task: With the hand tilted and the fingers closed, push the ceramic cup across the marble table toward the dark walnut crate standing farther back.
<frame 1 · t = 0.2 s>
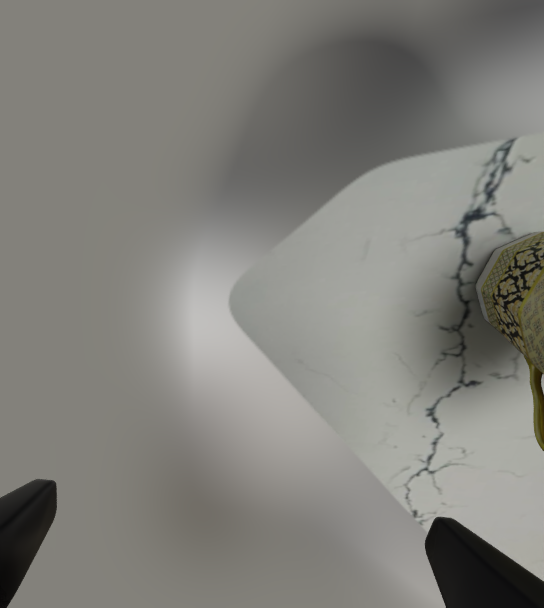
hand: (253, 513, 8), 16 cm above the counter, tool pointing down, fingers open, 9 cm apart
ceramic cup: (508, 300, 25), on the counter
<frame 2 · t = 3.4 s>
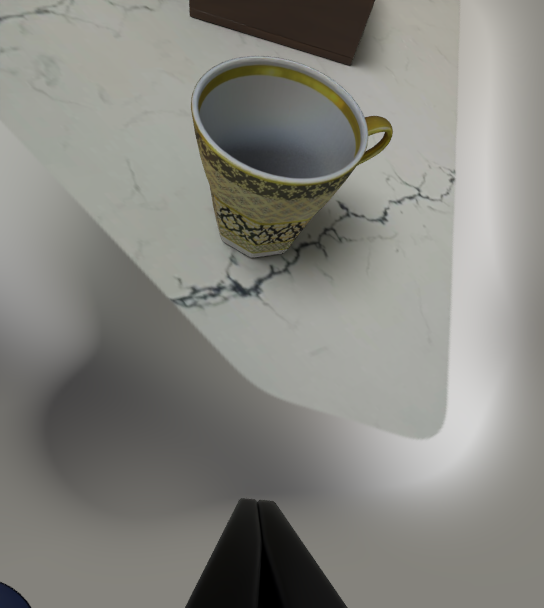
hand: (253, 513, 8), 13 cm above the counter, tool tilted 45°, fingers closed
crate: (282, 6, 42), on the counter
ceramic cup: (274, 223, 29), on the counter
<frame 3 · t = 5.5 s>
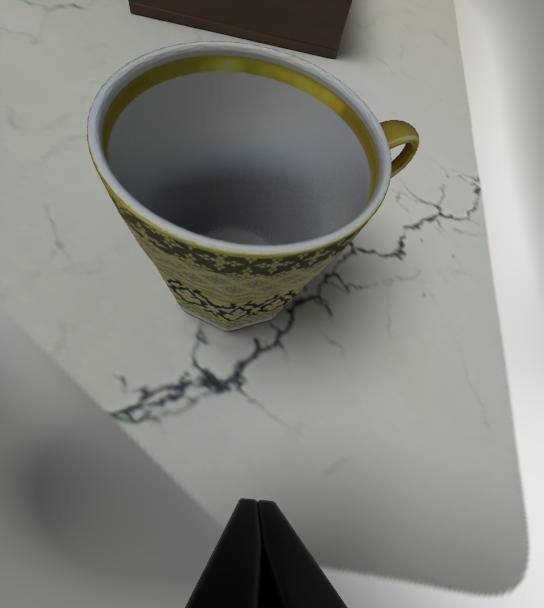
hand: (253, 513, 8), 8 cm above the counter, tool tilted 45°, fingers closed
ceramic cup: (255, 275, 21), on the counter
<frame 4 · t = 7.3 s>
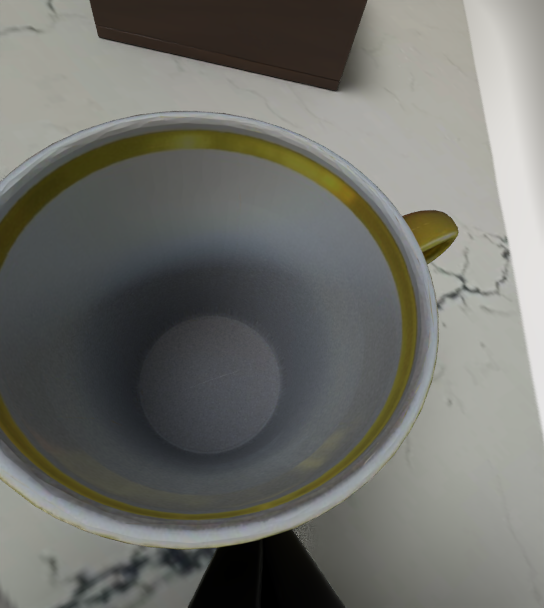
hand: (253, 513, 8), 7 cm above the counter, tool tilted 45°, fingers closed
crate: (234, 15, 31), on the counter
ceramic cup: (241, 373, 17), on the counter, touching gripper
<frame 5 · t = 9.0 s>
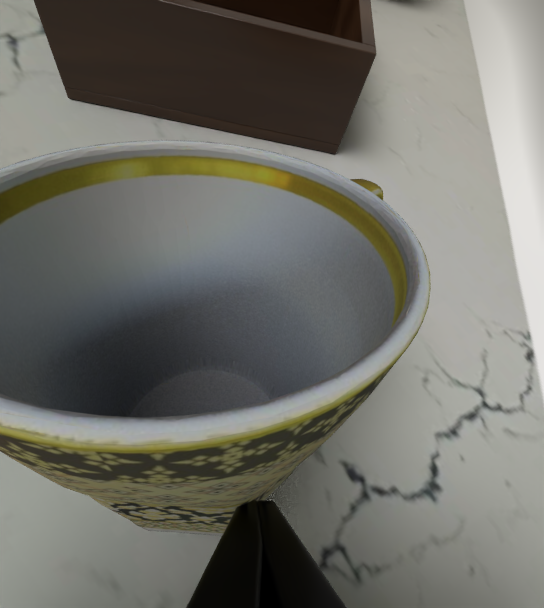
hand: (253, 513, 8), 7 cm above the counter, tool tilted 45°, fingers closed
crate: (224, 65, 28), on the counter
ceramic cup: (234, 423, 15), point 1 cm above the counter, touching gripper
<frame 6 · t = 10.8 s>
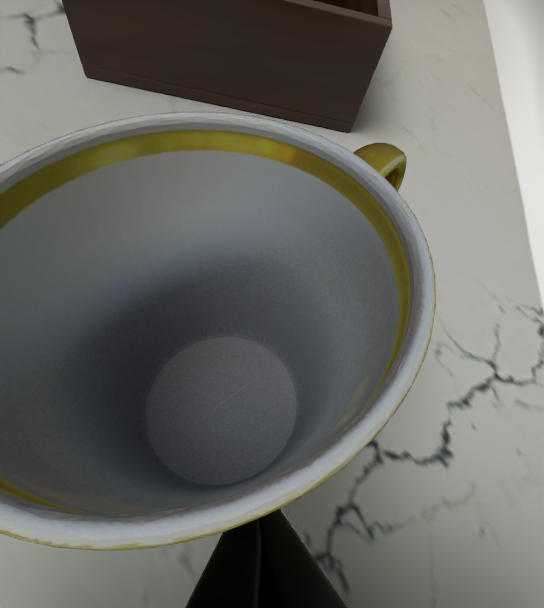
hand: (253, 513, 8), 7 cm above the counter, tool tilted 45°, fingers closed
crate: (237, 45, 28), on the counter
ceramic cup: (251, 388, 16), point 1 cm above the counter, touching gripper
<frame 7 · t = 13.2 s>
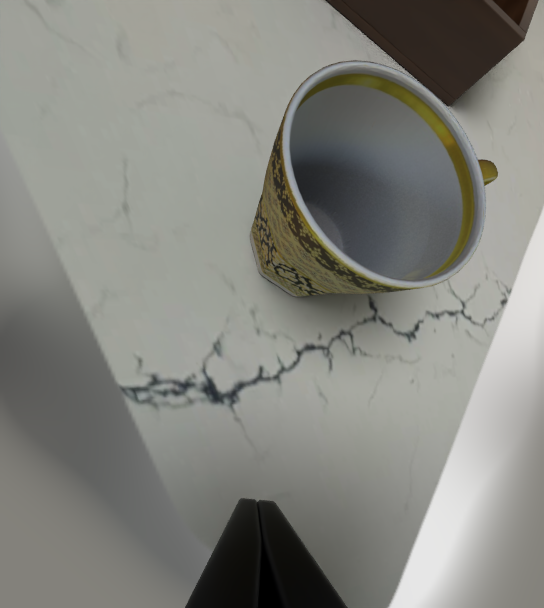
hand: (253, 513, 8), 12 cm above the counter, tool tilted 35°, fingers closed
ceramic cup: (315, 246, 24), on the counter
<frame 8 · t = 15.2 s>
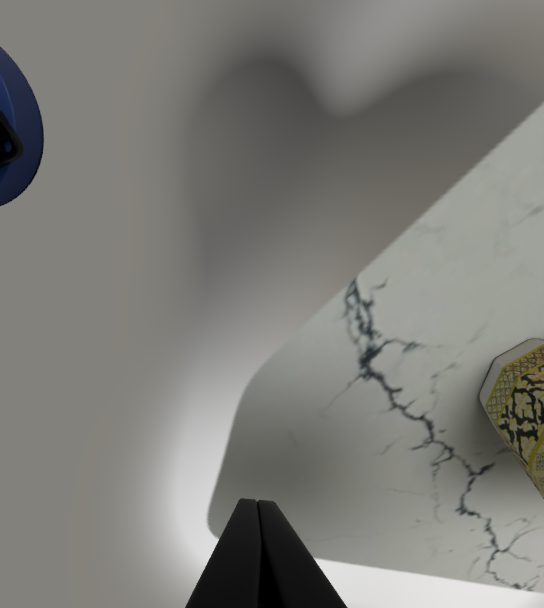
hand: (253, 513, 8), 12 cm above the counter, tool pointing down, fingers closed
ceramic cup: (535, 400, 22), on the counter
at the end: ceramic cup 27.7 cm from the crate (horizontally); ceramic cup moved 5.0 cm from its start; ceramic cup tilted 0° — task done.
